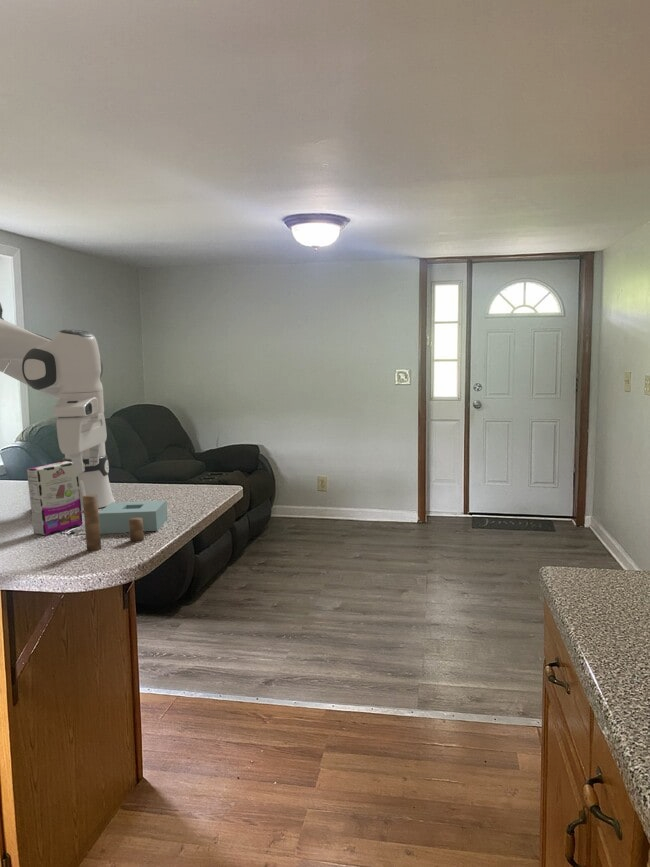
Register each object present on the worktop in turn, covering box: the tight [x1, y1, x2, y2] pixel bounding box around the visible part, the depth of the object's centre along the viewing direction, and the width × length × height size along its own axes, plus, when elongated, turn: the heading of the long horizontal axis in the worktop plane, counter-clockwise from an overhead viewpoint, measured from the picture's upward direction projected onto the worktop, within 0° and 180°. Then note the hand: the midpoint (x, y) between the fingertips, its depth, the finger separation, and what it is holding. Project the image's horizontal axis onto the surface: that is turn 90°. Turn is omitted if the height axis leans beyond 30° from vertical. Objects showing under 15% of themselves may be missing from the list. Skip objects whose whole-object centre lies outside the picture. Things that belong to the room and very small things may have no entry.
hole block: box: [98, 499, 169, 535], centre depth 164 cm, size 14×12×5 cm
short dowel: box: [129, 517, 145, 543], centre depth 151 cm, size 3×3×5 cm
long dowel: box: [83, 495, 102, 552], centre depth 144 cm, size 3×3×12 cm
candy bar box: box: [26, 461, 84, 536], centre depth 163 cm, size 11×5×16 cm, turn 148°
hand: (87, 468), depth 143 cm, fingers open, 8 cm apart
